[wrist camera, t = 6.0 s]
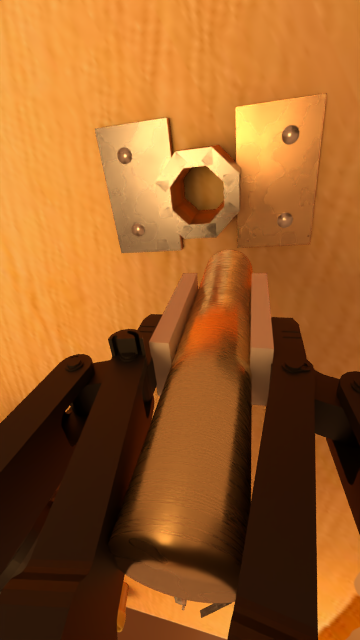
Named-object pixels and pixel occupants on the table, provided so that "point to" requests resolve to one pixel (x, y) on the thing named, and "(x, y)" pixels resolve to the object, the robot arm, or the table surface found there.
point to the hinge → (238, 176)
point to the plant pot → (122, 608)
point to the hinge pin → (197, 452)
